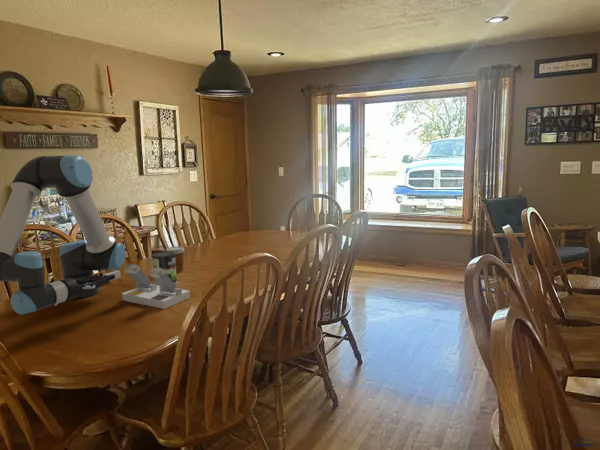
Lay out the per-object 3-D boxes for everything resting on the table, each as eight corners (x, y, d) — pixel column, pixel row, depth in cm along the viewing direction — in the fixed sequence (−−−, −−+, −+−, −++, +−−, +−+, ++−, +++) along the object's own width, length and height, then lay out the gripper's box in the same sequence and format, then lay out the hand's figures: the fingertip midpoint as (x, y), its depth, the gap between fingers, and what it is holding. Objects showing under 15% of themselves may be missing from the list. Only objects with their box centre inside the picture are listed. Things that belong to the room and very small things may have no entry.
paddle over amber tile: (139, 288, 185) (122, 268, 176) (143, 283, 186) (126, 263, 178) (151, 290, 181) (134, 270, 173) (155, 285, 183) (138, 265, 175)
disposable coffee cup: (163, 273, 219) (160, 249, 217) (175, 268, 227) (173, 245, 225) (178, 274, 215) (176, 250, 213) (190, 269, 224) (188, 246, 222)
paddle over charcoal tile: (163, 292, 178) (146, 272, 170) (167, 287, 180) (151, 266, 172) (175, 294, 175) (159, 274, 166) (179, 289, 176) (163, 268, 168)
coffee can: (181, 280, 205) (179, 251, 202) (170, 287, 195) (168, 256, 192) (161, 279, 207) (158, 251, 204) (149, 286, 197) (147, 256, 195)
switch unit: (122, 300, 179) (121, 287, 178) (148, 290, 191) (147, 278, 190) (164, 308, 168) (163, 295, 167) (190, 297, 180) (189, 285, 179)
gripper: (52, 298, 154) (109, 281, 175) (75, 303, 148) (131, 285, 169) (49, 278, 153) (107, 263, 174) (72, 282, 147) (129, 266, 167)
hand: (119, 274), depth 171 cm, fingers closed
